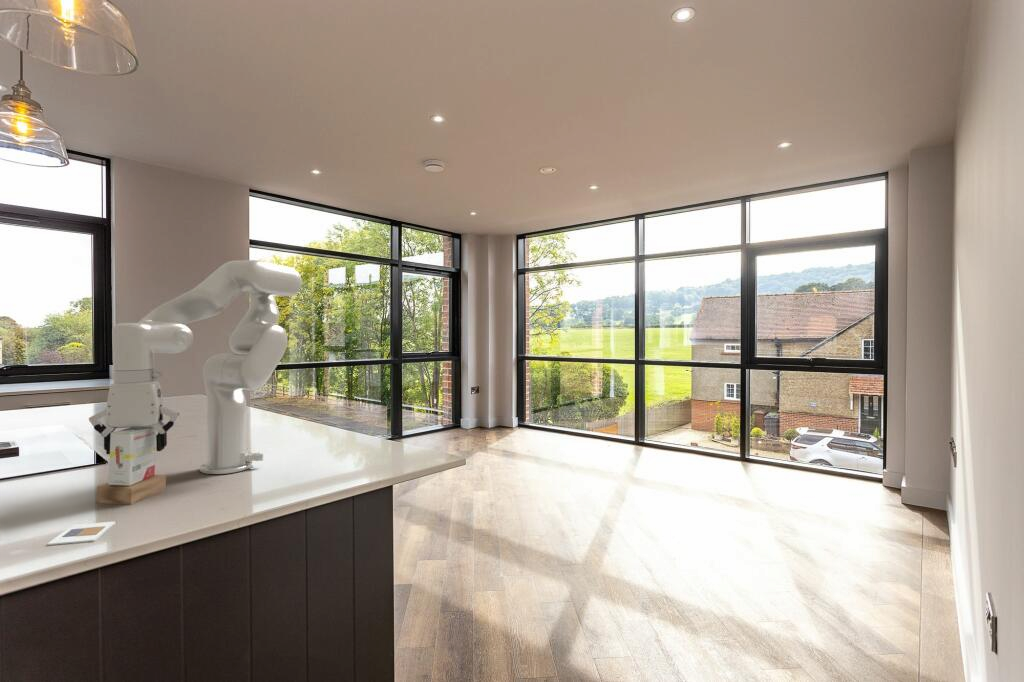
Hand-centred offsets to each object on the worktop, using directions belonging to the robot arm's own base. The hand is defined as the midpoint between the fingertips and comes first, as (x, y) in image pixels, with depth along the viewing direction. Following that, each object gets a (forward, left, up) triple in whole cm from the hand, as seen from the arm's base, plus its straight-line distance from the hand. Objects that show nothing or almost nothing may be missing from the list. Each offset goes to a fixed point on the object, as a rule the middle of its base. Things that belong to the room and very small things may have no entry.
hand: (136, 451), depth 118 cm
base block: (0, +1, -11) cm, 11 cm away
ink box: (+1, 0, -7) cm, 7 cm away
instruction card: (+1, +23, -10) cm, 25 cm away
